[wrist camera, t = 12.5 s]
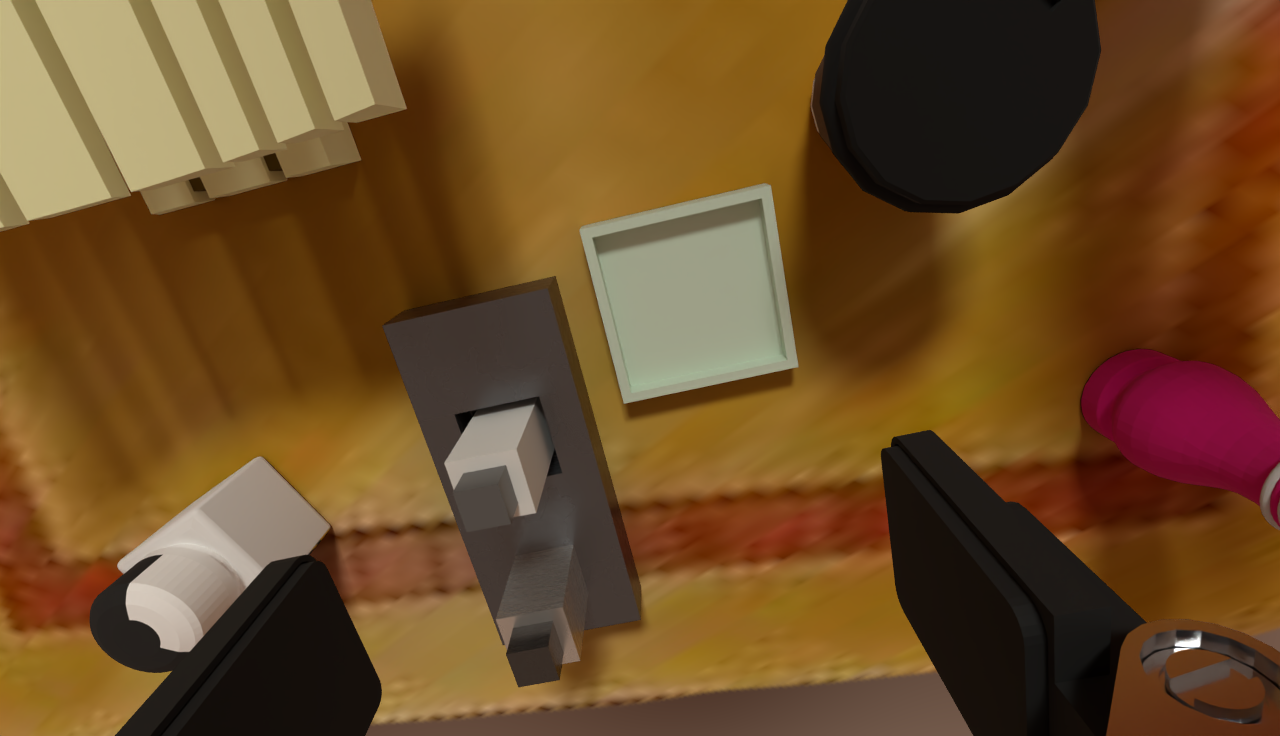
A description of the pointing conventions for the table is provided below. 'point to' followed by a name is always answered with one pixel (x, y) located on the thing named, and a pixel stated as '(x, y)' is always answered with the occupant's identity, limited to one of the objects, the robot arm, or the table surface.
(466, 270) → the table surface
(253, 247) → the table surface
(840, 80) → the coffee cup
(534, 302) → the grey piece
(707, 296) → the tray
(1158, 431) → the pepper mill
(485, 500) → the plug
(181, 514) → the medicine bottle
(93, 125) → the slatted curved stool
